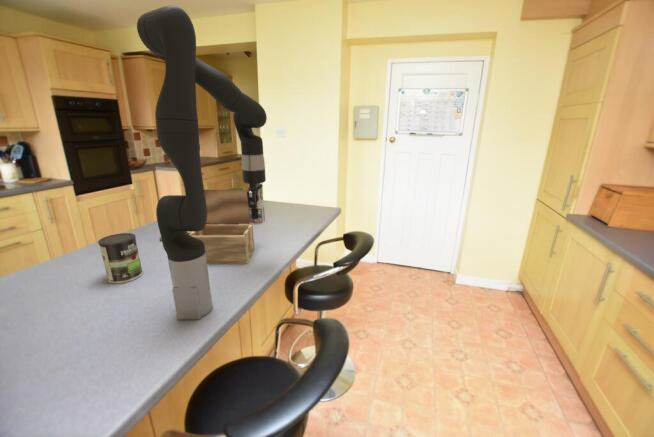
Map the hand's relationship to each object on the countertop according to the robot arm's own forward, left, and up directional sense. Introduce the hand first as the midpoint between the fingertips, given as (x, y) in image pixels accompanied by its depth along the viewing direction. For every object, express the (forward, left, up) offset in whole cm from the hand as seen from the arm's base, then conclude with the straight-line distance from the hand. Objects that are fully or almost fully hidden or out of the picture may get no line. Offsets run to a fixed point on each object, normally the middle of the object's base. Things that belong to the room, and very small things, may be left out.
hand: (256, 215), depth 107 cm
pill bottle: (0, 0, -3) cm, 3 cm away
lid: (+16, +16, -1) cm, 23 cm away
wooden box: (+8, +16, -19) cm, 26 cm away
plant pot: (+81, +31, -19) cm, 89 cm away
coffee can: (-8, +45, -19) cm, 50 cm away
